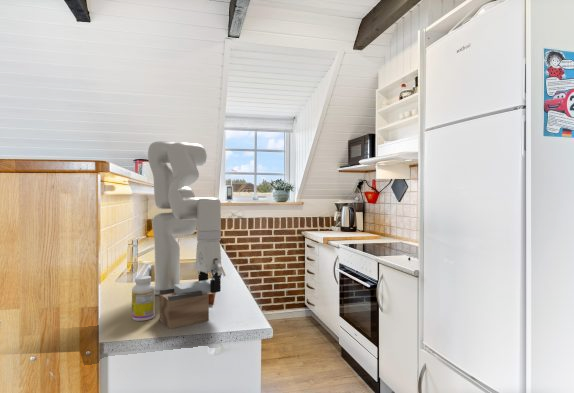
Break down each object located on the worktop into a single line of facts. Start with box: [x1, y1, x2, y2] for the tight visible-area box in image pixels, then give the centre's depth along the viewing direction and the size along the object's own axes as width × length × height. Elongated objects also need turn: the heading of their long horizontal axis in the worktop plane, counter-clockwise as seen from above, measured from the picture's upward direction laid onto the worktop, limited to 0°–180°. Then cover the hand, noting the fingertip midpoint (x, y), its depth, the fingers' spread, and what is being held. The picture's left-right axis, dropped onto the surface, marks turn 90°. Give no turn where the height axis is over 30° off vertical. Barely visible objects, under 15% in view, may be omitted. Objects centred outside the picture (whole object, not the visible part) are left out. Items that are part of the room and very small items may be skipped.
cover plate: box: [174, 278, 211, 294], centre depth 112 cm, size 6×12×2 cm, turn 126°
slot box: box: [159, 288, 210, 330], centre depth 110 cm, size 10×12×9 cm
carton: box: [207, 292, 217, 306], centre depth 133 cm, size 8×16×4 cm, turn 9°
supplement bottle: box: [131, 275, 156, 322], centre depth 112 cm, size 7×7×13 cm
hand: (209, 288), depth 115 cm, fingers open, 9 cm apart
